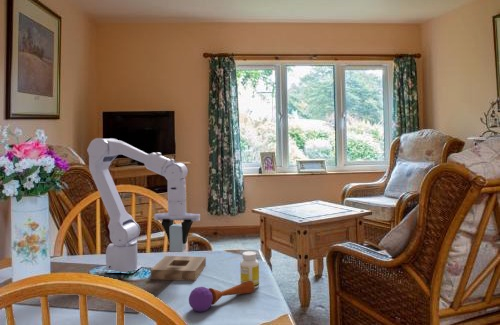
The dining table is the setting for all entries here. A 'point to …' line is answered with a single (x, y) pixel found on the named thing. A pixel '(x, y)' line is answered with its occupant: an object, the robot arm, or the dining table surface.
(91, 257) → the dining table surface
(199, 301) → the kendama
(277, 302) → the dining table surface
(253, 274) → the supplement bottle
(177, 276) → the socket block
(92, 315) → the dining table surface
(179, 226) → the peg
